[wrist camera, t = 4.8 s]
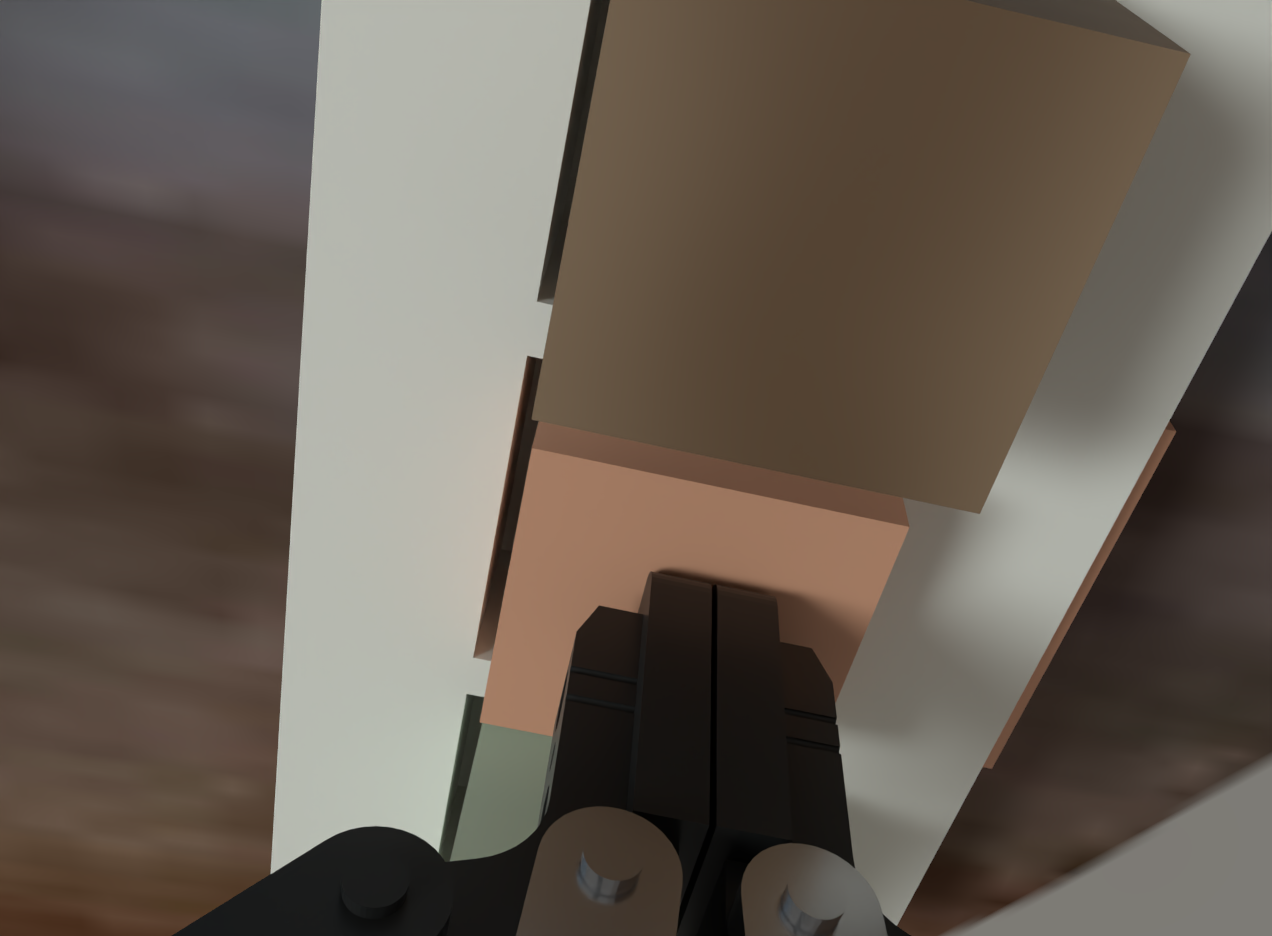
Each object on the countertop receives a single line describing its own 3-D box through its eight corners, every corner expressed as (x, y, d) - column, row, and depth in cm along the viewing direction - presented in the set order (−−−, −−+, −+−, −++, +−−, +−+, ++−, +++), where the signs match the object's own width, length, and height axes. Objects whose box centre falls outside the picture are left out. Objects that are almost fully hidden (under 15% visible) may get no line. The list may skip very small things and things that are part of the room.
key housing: (327, 758, 22) (267, 915, 20) (430, -368, 13) (345, -393, 10) (849, 857, 23) (868, 1023, 20) (1327, -142, 13) (1498, -101, 10)
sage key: (455, 869, 19) (408, 1076, 16) (490, 688, 17) (443, 890, 14) (701, 915, 20) (698, 1125, 17) (768, 743, 17) (779, 951, 14)
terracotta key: (519, 555, 18) (479, 721, 15) (567, 308, 15) (532, 448, 12) (787, 609, 18) (800, 784, 15) (873, 374, 16) (909, 527, 13)
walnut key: (572, 265, 13) (531, 420, 10) (650, -135, 11) (624, -81, 8) (923, 343, 14) (980, 513, 11) (1068, -33, 11) (1191, 53, 8)
